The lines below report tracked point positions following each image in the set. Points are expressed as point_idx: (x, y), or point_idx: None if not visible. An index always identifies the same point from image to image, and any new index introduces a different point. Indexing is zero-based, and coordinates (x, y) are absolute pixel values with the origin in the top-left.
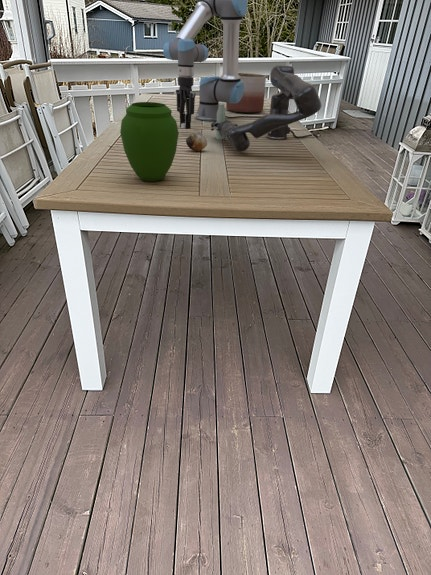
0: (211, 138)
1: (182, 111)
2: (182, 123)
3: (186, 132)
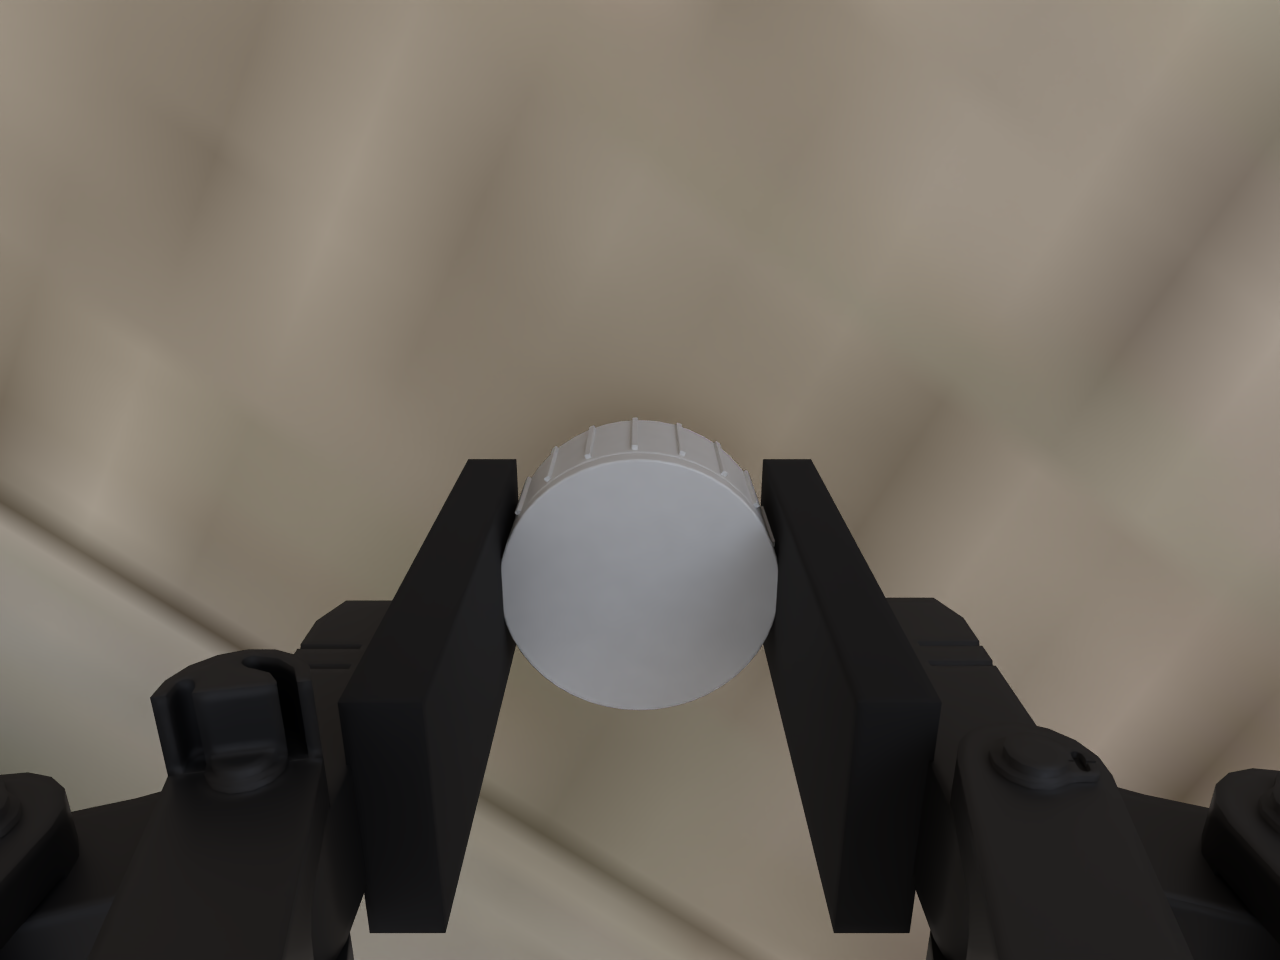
0: (38, 748)
1: (960, 919)
2: (741, 549)
3: None
